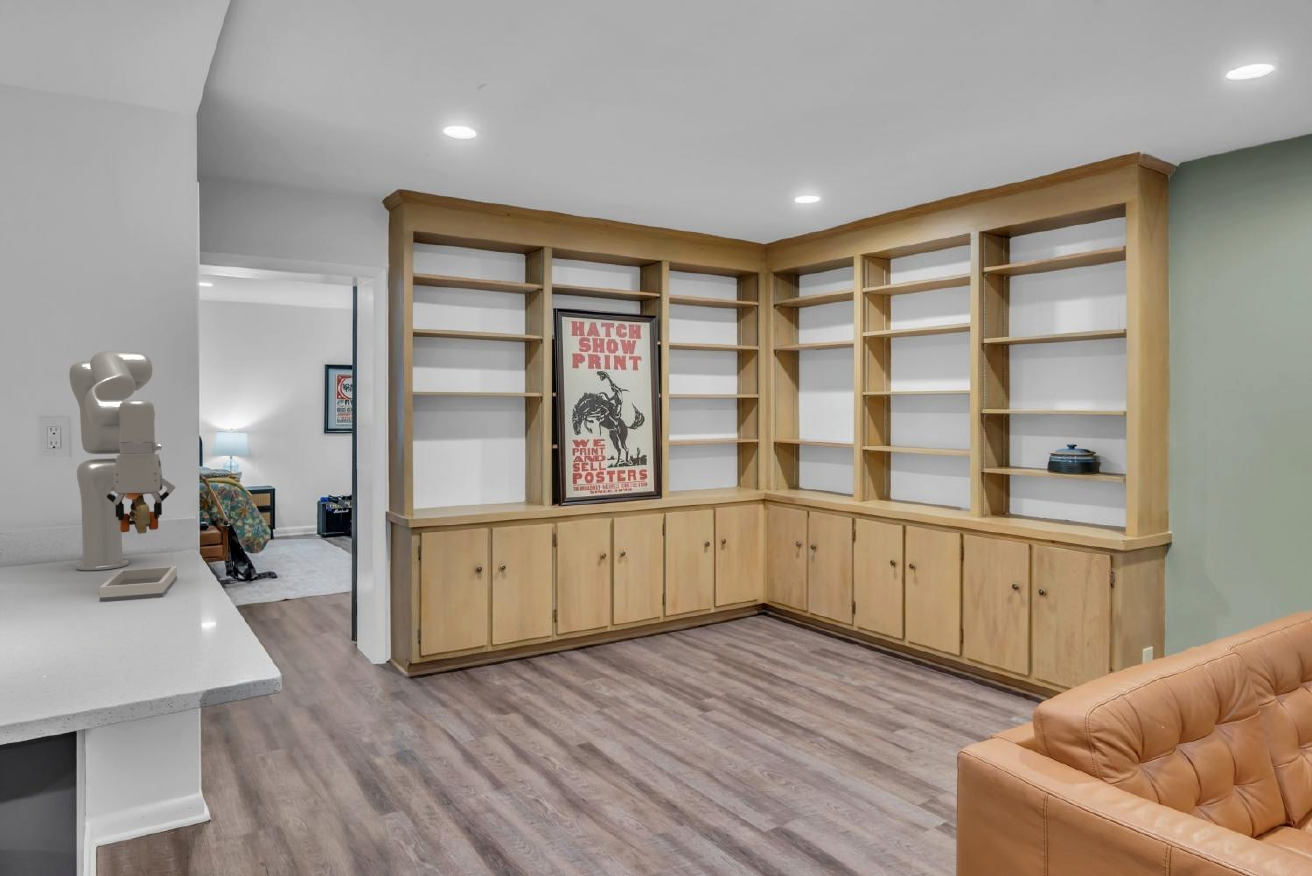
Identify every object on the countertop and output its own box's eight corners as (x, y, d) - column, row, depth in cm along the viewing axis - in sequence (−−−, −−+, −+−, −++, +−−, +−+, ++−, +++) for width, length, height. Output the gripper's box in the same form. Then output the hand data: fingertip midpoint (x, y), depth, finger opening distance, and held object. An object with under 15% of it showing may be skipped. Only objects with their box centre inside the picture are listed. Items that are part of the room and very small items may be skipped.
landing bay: (120, 583, 214) (120, 570, 214) (176, 579, 220) (176, 566, 219) (99, 601, 193) (99, 587, 193) (162, 596, 198) (162, 582, 198)
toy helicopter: (155, 528, 216) (154, 476, 216) (166, 537, 200) (165, 482, 199) (119, 530, 211) (117, 478, 211) (127, 541, 195) (125, 484, 194)
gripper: (179, 448, 212) (180, 515, 213) (100, 449, 205) (102, 519, 206) (174, 449, 205) (176, 519, 206) (93, 450, 198) (94, 522, 199)
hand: (139, 518), depth 206 cm, fingers closed on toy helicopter, 7 cm apart
